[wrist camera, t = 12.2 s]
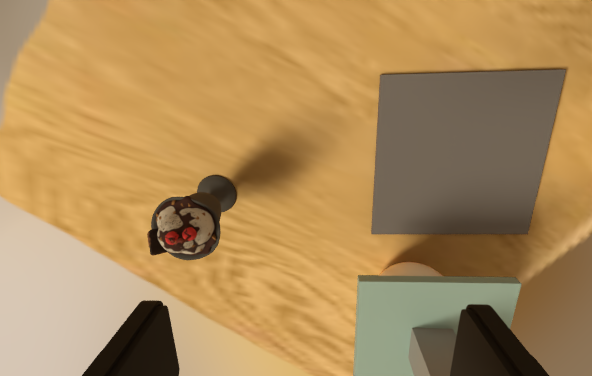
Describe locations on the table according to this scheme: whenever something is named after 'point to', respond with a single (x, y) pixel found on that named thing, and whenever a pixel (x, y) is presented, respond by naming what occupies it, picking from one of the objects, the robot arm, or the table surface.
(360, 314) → the lid
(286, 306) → the table surface
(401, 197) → the mat
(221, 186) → the sundae
